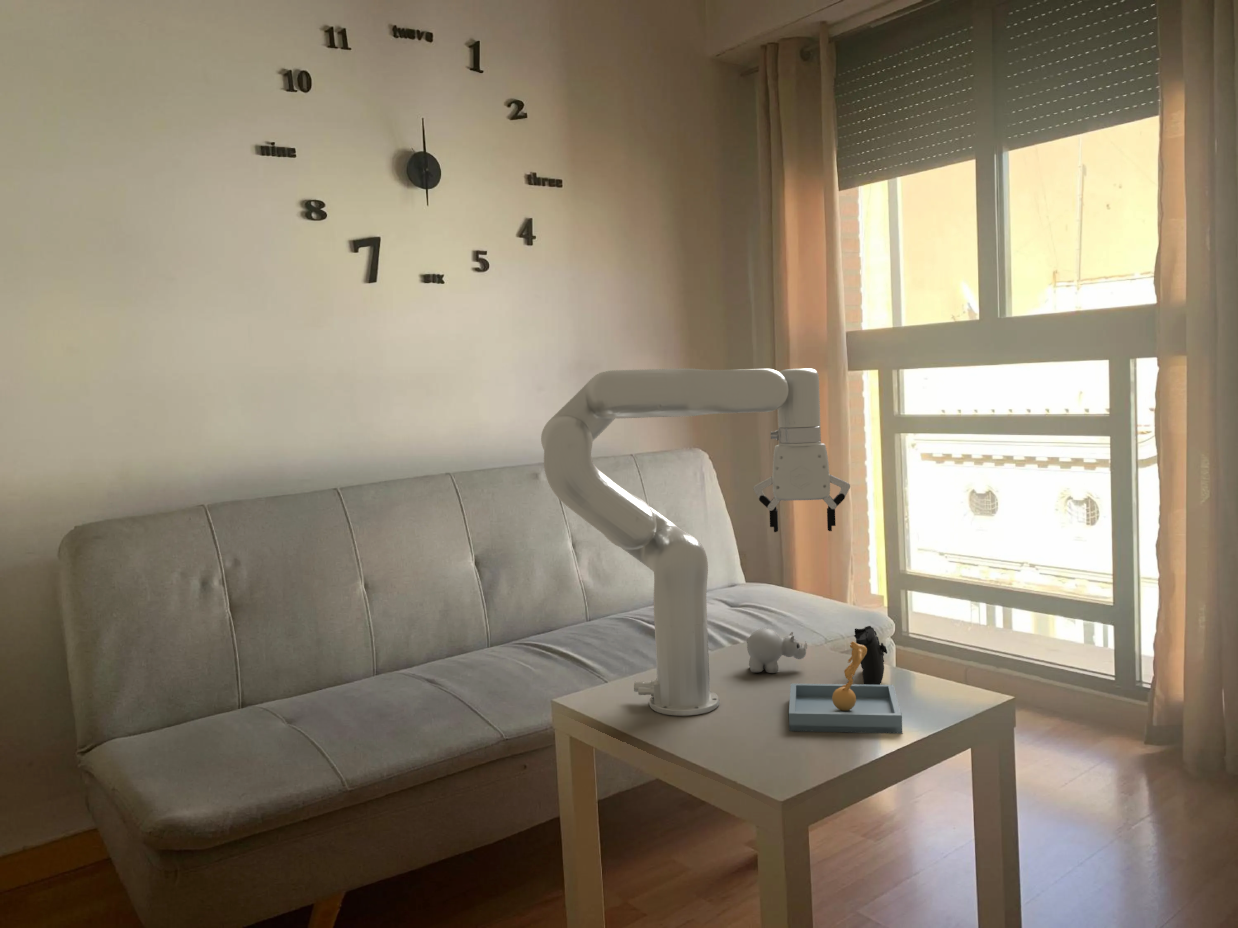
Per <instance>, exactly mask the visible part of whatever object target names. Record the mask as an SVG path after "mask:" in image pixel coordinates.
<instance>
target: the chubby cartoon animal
mask: <svg viewBox="0 0 1238 928" xmlns="http://www.w3.org/2000/svg"><path fill="white" fill-rule="evenodd" d="M746 649H747V653H748V655H749V660H748V666H749V668H750V672H751V673H762V672H763V671H764V670H765V672H766V673H768V674H776V673H778V672H779V663H778V661H779V660H780V659H781V657H782V656H784V657H786V658H791V657H793V658H795V659H797V660H802V659H804V658H805V657H806V655H807V649H808V642H807V641H804V645H803V644H802V643H801V644H800V643H799V640H798V639H797V638H796V637H795V635H794V632H793V631H791V632H790V633H789V635H787V636H785V637H781V636H780V634H778V632H777V631H775V630H773V629H771V628H765V627H764V628H759V629H756V630H754V631H753V632H752V633H751V634H750V635H749V637H748V638H747V639H746Z"/></svg>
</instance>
